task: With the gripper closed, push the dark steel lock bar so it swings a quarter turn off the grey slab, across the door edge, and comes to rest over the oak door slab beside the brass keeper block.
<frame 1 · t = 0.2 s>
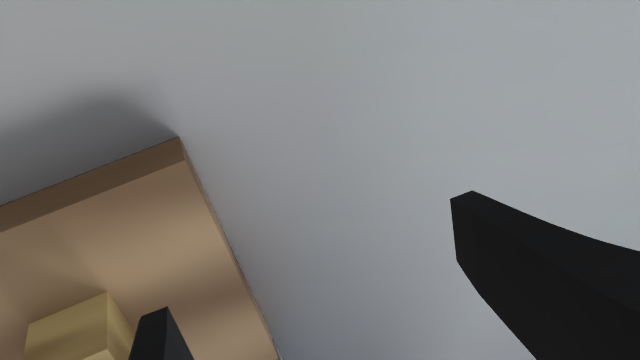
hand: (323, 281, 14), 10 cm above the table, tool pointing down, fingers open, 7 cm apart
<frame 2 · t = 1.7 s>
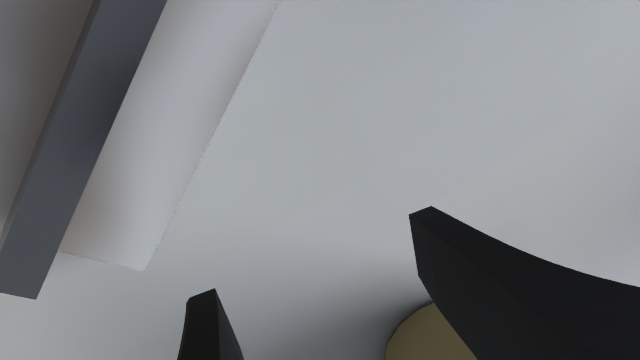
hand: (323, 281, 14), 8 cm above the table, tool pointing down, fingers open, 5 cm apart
lock bar: (110, 43, 14), point 4 cm above the table, hinge at 90.0°
squeeze bottle: (433, 337, 30), on the table
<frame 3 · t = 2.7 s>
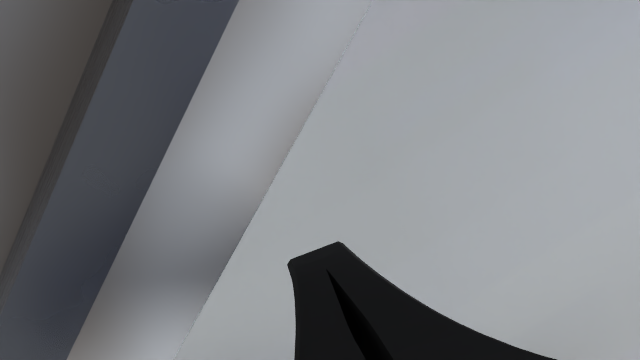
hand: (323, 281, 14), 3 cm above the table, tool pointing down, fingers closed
lock bar: (112, 133, 9), point 4 cm above the table, hinge at 90.0°
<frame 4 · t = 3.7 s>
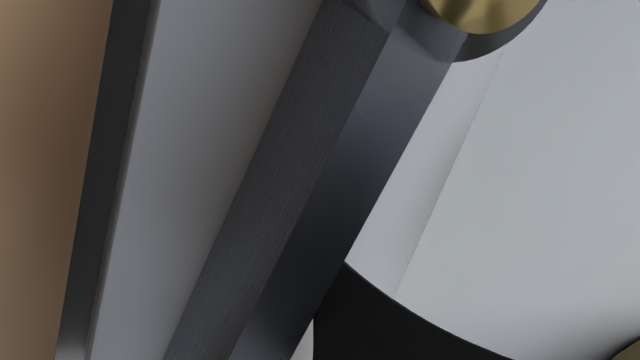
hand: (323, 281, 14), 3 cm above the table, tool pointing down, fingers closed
lock bar: (298, 212, 11), point 4 cm above the table, hinge at 82.2°, touching gripper
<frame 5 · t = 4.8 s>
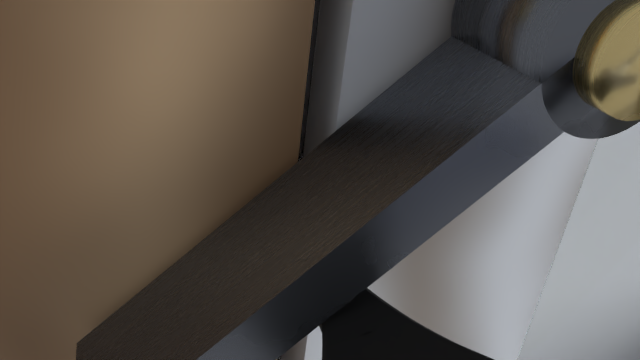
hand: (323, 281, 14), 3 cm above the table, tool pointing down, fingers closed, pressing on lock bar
lock bar: (358, 208, 11), point 4 cm above the table, hinge at 42.3°, touching gripper
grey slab: (297, 64, 14), on the table
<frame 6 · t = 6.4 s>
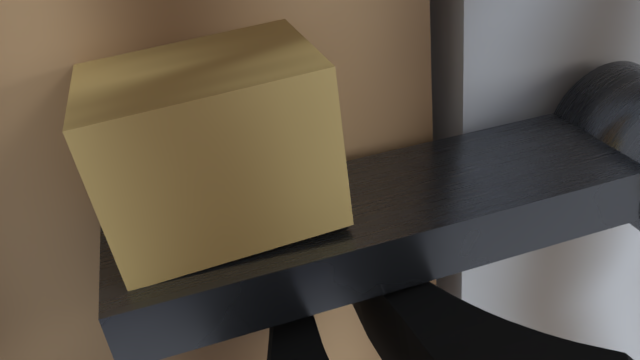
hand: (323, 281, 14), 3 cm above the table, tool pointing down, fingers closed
lock bar: (450, 208, 12), point 4 cm above the table, hinge at -2.6°, touching gripper, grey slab
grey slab: (415, 183, 17), on the table
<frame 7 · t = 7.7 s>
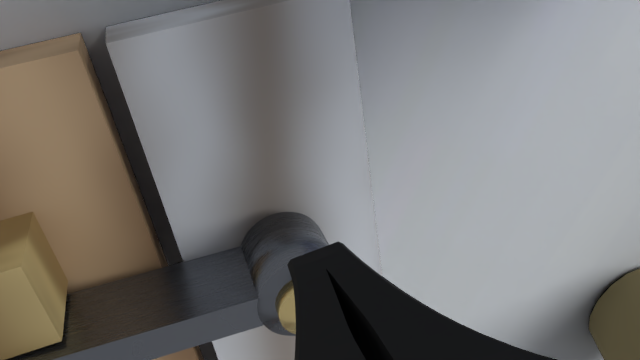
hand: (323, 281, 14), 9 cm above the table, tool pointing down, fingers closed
lock bar: (144, 321, 19), point 4 cm above the table, hinge at -2.5°, touching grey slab
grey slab: (184, 280, 24), on the table
squeeze bottle: (625, 301, 35), on the table
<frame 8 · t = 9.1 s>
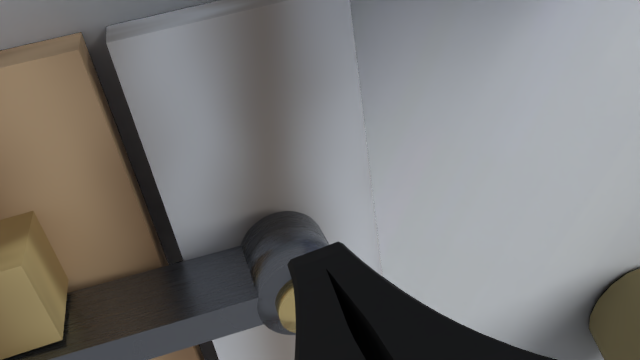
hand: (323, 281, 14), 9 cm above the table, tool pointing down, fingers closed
lock bar: (145, 320, 19), point 4 cm above the table, hinge at -2.5°, touching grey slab
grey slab: (184, 279, 24), on the table
squeeze bottle: (625, 300, 35), on the table
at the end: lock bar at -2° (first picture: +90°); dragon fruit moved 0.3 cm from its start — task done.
